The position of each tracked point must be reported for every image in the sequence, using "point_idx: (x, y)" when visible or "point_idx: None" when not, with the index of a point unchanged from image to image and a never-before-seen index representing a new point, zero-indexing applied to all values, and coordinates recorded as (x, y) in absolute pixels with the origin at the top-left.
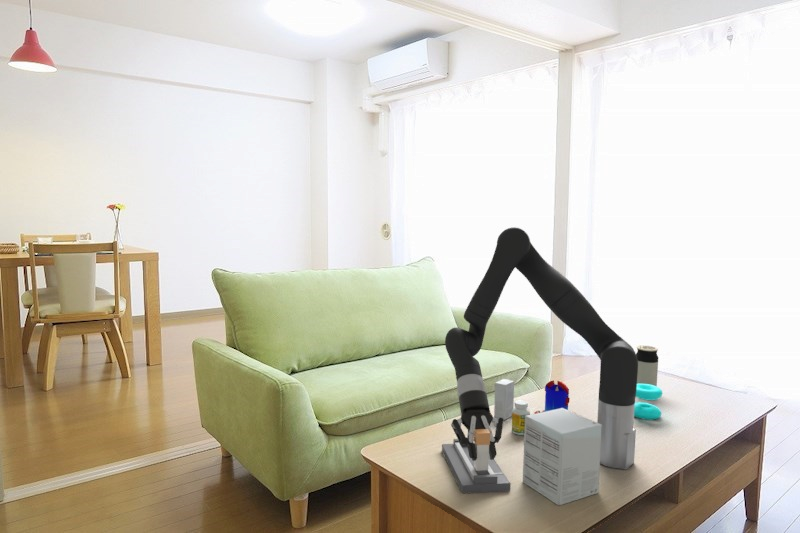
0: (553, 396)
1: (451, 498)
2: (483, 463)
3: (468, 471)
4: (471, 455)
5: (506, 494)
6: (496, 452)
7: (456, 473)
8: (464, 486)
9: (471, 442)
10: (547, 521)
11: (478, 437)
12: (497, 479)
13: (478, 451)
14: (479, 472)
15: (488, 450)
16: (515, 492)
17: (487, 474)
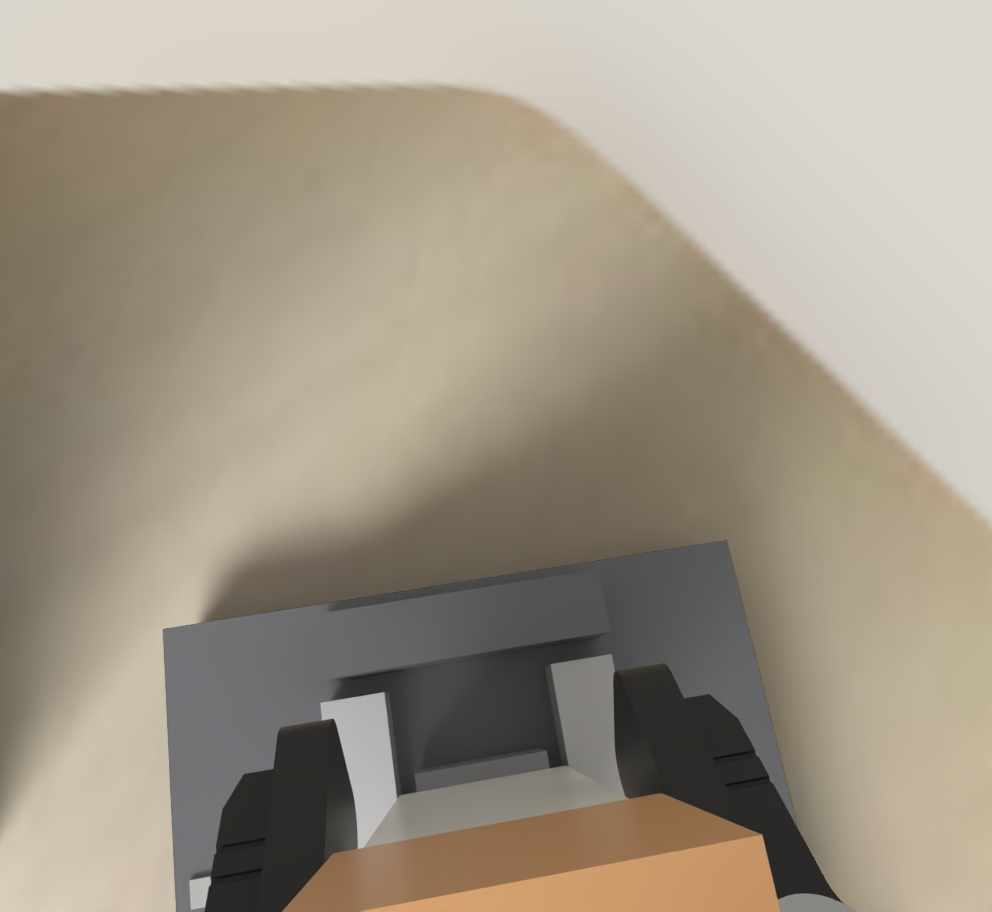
0: None
1: (801, 461)
2: (473, 791)
3: None
4: (714, 706)
5: (252, 563)
6: (220, 821)
7: None
8: (700, 548)
9: (793, 902)
10: (20, 149)
11: (668, 828)
12: (301, 710)
13: (589, 793)
14: (525, 754)
15: (378, 840)
16: (144, 610)
17: None
